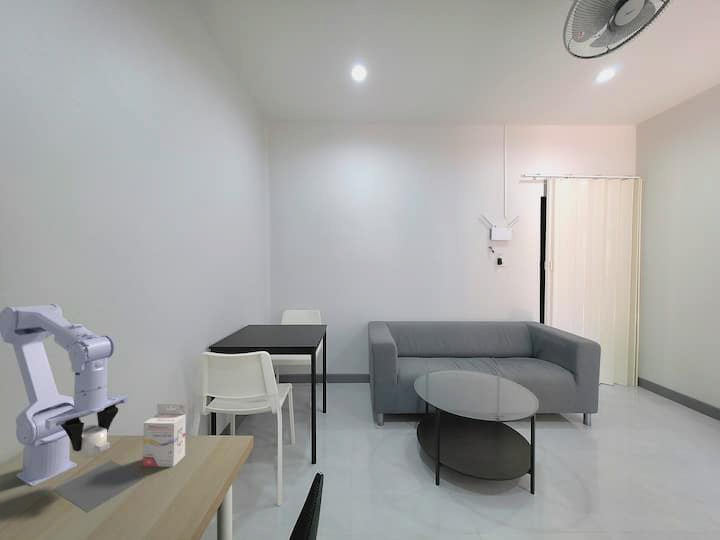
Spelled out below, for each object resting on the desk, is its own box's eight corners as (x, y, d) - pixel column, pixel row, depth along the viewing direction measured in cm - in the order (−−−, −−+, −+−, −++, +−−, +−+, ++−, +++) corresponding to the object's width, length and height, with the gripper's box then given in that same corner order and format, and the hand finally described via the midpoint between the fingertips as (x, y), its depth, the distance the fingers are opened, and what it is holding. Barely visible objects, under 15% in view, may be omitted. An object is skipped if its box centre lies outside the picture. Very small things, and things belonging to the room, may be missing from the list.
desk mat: (52, 491, 63) (52, 489, 63) (111, 461, 73) (111, 460, 73) (87, 514, 57) (87, 512, 57) (146, 478, 67) (146, 477, 67)
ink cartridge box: (141, 468, 71) (142, 411, 71) (156, 456, 75) (157, 402, 76) (173, 468, 70) (174, 411, 71) (186, 456, 75) (186, 402, 76)
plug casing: (69, 450, 66) (69, 431, 66) (91, 441, 69) (91, 423, 69) (93, 462, 61) (94, 442, 61) (115, 452, 65) (116, 432, 65)
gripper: (56, 402, 58) (54, 467, 57) (135, 379, 71) (134, 432, 71) (41, 397, 61) (39, 459, 60) (120, 376, 74) (119, 426, 73)
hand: (89, 444), depth 66 cm, fingers closed on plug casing, 4 cm apart
